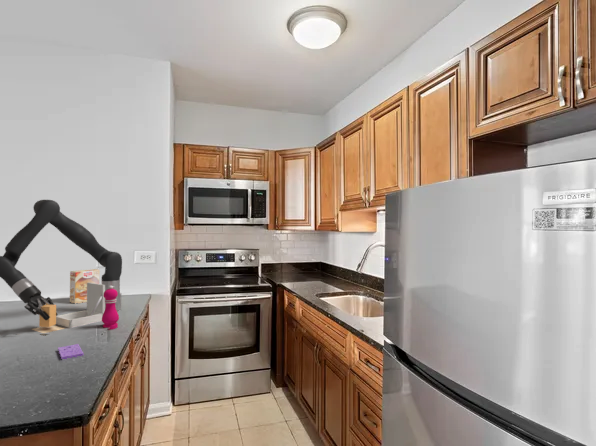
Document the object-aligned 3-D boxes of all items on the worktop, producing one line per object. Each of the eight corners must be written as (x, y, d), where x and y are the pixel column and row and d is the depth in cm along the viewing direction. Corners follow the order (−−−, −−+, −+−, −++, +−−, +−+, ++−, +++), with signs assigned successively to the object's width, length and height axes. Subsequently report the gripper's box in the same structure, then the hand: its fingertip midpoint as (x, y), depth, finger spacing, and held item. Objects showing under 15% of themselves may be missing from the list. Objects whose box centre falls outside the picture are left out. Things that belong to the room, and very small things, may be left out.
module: (46, 324, 169) (46, 304, 169) (56, 324, 169) (56, 304, 169) (39, 326, 165) (39, 306, 165) (49, 326, 165) (49, 306, 165)
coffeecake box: (75, 304, 222) (75, 272, 222) (69, 302, 226) (69, 271, 226) (99, 299, 235) (99, 269, 235) (93, 298, 239) (94, 268, 239)
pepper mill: (111, 330, 169) (112, 287, 169) (98, 329, 170) (98, 286, 170) (122, 326, 176) (122, 284, 176) (109, 325, 177) (109, 284, 177)
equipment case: (89, 318, 190) (89, 282, 190) (104, 322, 183) (105, 285, 183) (54, 325, 176) (54, 287, 176) (70, 330, 169) (70, 290, 169)
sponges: (78, 348, 146) (78, 343, 146) (83, 357, 136) (83, 352, 136) (57, 352, 142) (57, 347, 142) (61, 361, 132) (61, 356, 132)
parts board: (52, 326, 174) (52, 324, 174) (65, 330, 168) (65, 328, 168) (30, 331, 166) (30, 329, 166) (43, 335, 160) (43, 333, 160)
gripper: (20, 287, 160) (47, 315, 160) (43, 282, 174) (68, 308, 174) (8, 299, 160) (34, 327, 160) (32, 293, 175) (57, 319, 174)
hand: (52, 317), depth 167 cm, fingers closed on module, 4 cm apart
